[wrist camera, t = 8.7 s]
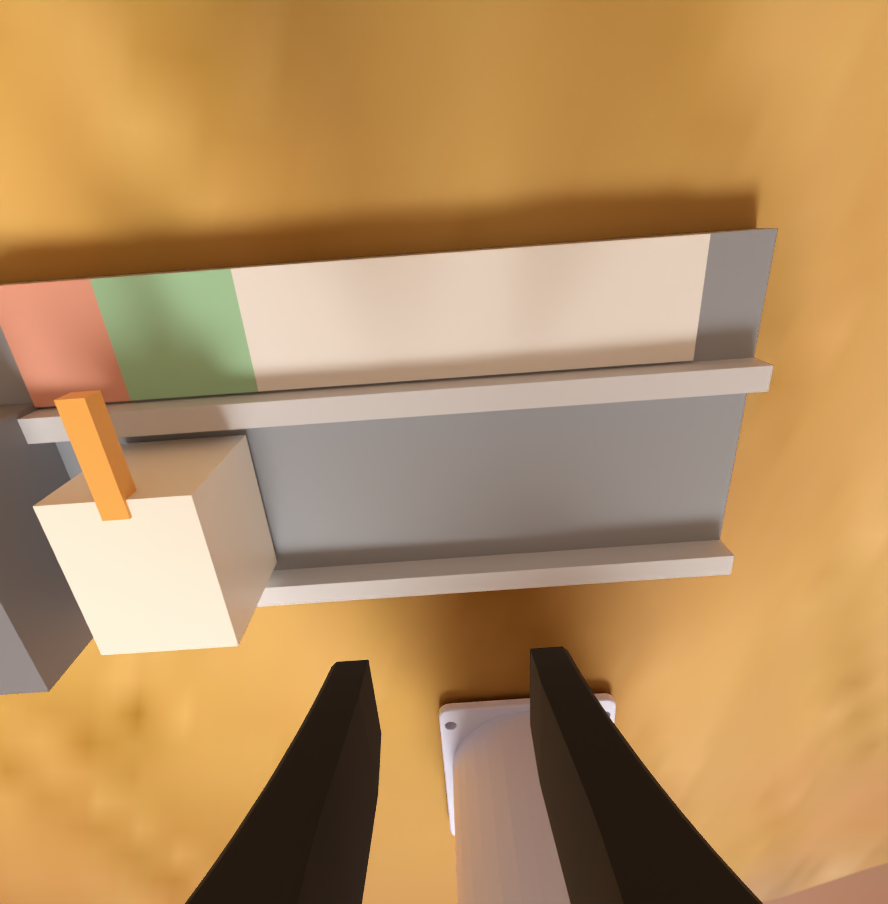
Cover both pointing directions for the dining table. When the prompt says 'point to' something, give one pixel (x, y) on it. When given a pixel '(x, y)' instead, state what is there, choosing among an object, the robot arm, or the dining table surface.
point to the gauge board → (403, 414)
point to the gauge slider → (158, 535)
